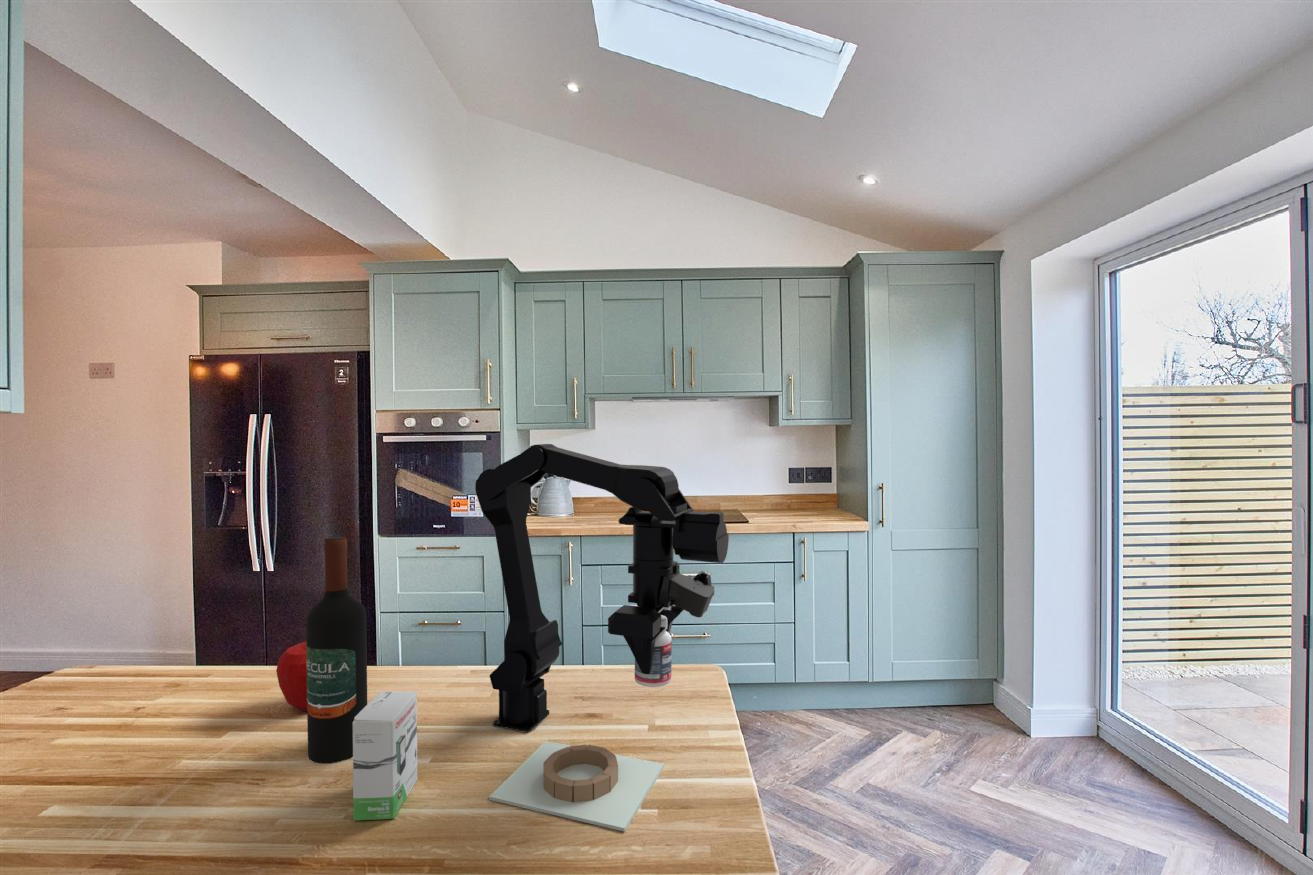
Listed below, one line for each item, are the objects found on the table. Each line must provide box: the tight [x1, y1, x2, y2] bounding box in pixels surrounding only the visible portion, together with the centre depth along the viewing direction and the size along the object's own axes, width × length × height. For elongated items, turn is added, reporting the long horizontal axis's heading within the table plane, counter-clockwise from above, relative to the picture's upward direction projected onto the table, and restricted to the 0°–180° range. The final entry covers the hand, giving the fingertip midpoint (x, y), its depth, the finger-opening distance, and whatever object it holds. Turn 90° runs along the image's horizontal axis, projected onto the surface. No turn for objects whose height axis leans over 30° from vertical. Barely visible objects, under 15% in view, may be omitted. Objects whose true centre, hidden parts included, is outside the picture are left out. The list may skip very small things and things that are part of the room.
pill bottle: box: [634, 615, 673, 688], centre depth 88 cm, size 5×5×9 cm
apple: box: [275, 641, 307, 712], centre depth 102 cm, size 10×10×11 cm
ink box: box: [352, 690, 418, 821], centre depth 77 cm, size 9×5×12 cm, turn 2°
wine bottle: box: [305, 536, 368, 765], centre depth 88 cm, size 8×8×30 cm
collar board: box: [488, 740, 665, 832], centre depth 80 cm, size 18×14×2 cm
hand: (652, 665), depth 88 cm, fingers closed on pill bottle, 5 cm apart
